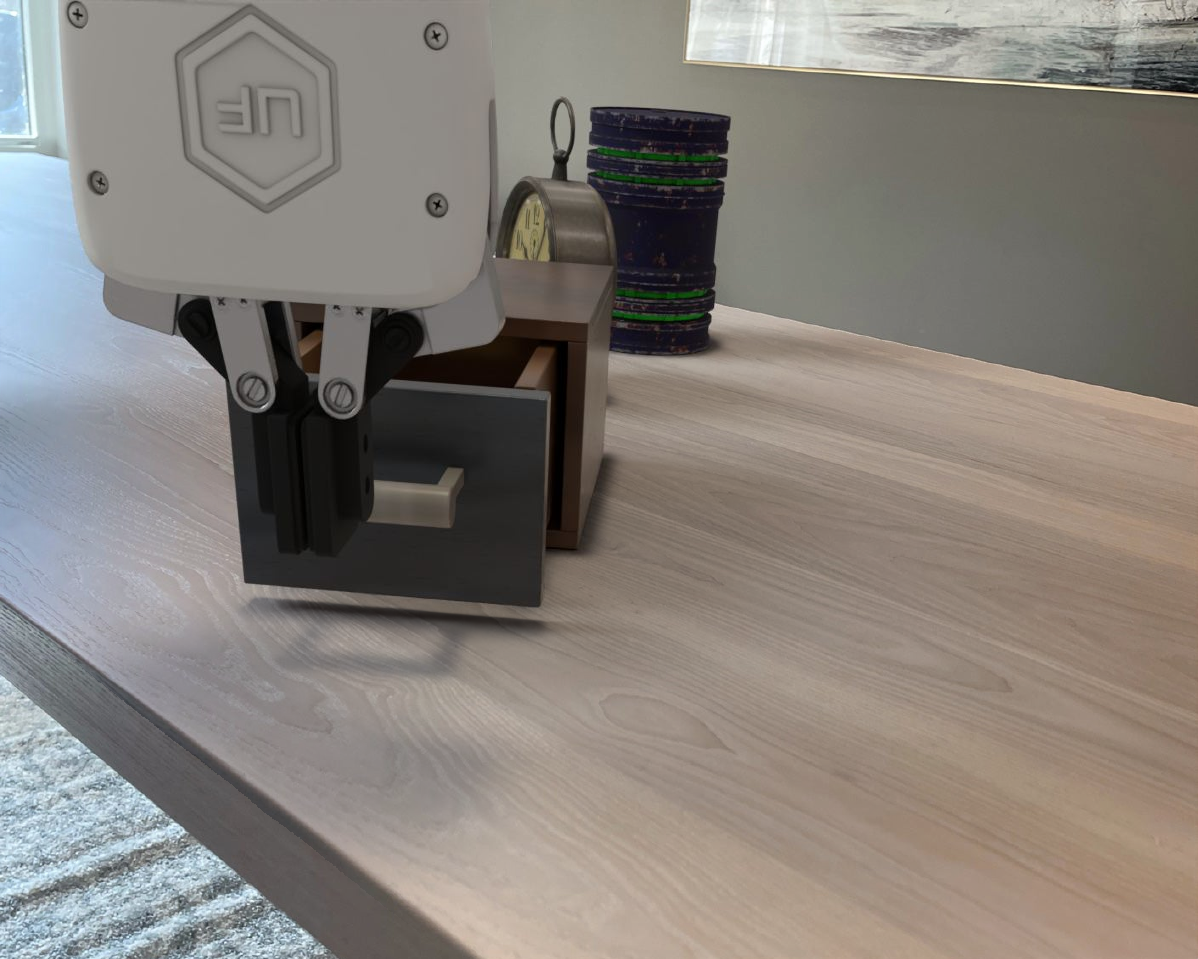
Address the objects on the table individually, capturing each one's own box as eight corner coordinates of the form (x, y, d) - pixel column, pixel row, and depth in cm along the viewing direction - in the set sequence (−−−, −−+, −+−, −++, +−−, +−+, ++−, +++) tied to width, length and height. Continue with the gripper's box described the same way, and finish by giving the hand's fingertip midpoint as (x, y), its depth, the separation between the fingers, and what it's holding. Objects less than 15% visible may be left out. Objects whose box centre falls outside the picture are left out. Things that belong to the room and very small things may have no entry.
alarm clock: (488, 367, 86) (491, 88, 77) (565, 365, 87) (576, 92, 79) (541, 409, 77) (550, 101, 69) (624, 406, 79) (644, 105, 70)
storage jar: (716, 358, 91) (739, 122, 84) (578, 350, 91) (588, 112, 83) (705, 330, 100) (725, 112, 92) (578, 322, 100) (588, 104, 92)
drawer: (526, 655, 45) (532, 431, 41) (205, 628, 46) (180, 404, 41) (574, 497, 60) (582, 323, 56) (334, 478, 61) (324, 304, 57)
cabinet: (577, 550, 57) (588, 322, 52) (296, 527, 57) (280, 300, 52) (603, 456, 69) (614, 266, 64) (372, 438, 70) (365, 248, 65)
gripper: (-153, -304, 26) (14, 566, 35) (590, -268, 25) (557, 609, 35) (21, -237, 32) (123, 484, 42) (616, -206, 32) (583, 519, 41)
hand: (320, 539), depth 38 cm, fingers closed
